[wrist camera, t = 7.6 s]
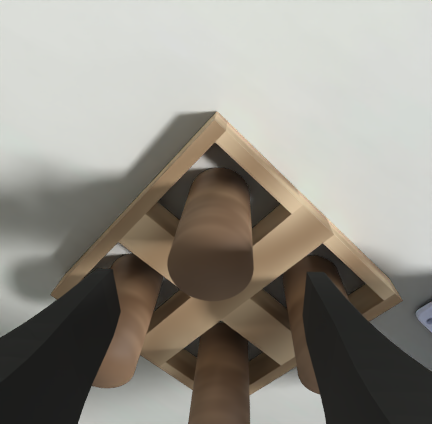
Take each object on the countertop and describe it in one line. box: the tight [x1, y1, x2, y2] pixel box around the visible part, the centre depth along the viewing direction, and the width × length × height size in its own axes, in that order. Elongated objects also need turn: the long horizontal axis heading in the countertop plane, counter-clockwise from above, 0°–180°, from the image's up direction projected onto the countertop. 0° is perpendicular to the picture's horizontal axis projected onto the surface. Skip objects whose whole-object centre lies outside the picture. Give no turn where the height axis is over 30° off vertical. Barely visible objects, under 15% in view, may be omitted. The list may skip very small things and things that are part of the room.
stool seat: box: [50, 112, 403, 424], centre depth 20 cm, size 15×15×7 cm
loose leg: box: [167, 168, 254, 301], centre depth 18 cm, size 4×4×7 cm
